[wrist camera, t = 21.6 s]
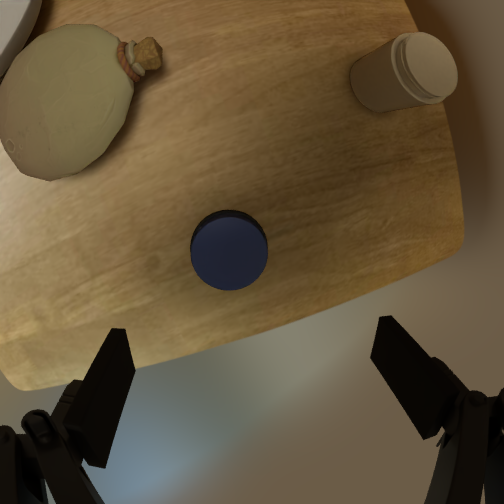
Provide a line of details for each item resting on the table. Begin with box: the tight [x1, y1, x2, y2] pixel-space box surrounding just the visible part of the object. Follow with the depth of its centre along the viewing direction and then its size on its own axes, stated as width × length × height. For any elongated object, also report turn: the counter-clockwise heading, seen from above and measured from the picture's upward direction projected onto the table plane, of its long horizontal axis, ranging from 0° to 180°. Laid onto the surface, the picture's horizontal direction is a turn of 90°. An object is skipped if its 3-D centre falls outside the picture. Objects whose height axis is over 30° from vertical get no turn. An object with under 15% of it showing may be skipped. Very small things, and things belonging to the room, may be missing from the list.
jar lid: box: [191, 213, 268, 290], centre depth 30 cm, size 8×8×2 cm
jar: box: [350, 32, 458, 113], centre depth 23 cm, size 7×7×11 cm
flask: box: [0, 24, 163, 181], centre depth 21 cm, size 9×16×18 cm
